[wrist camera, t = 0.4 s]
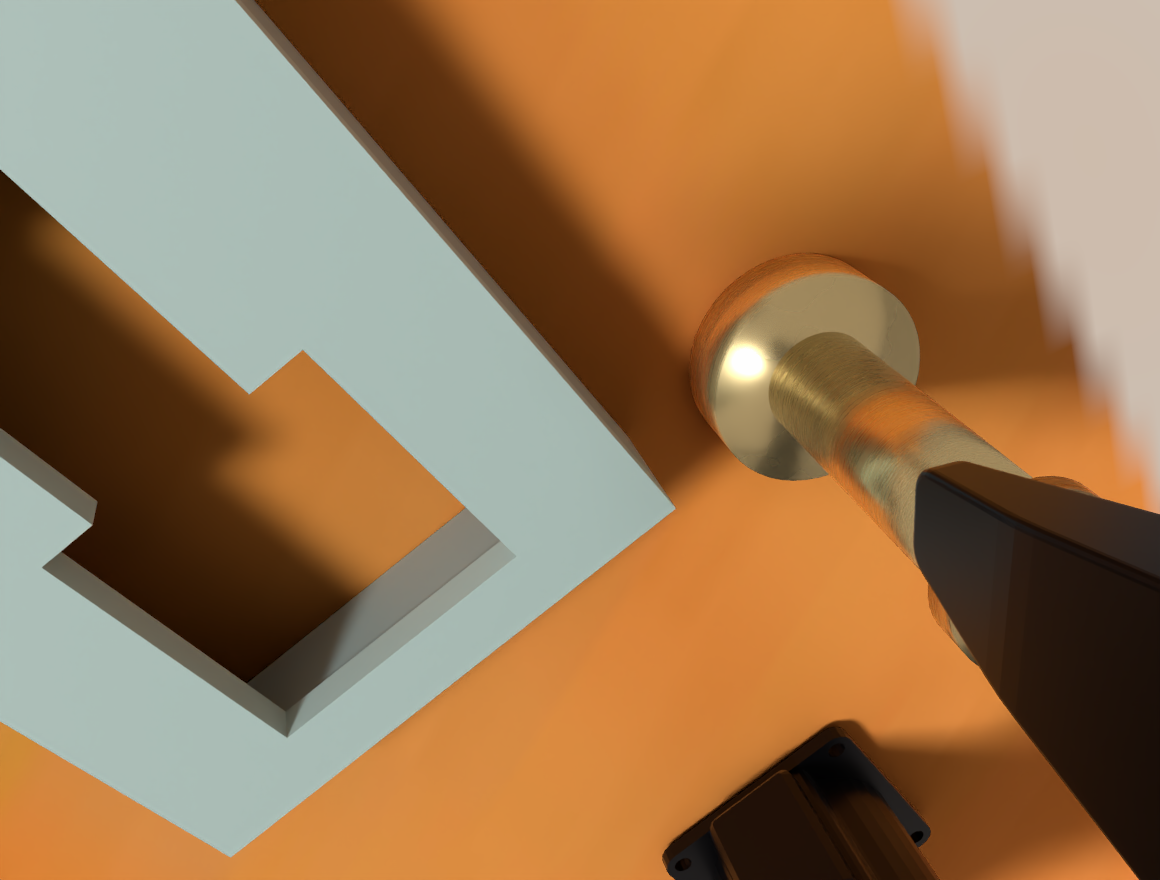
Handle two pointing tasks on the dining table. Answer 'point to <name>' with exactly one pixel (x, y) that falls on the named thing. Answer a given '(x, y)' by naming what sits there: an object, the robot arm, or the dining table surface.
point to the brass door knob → (831, 392)
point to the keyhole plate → (250, 356)
